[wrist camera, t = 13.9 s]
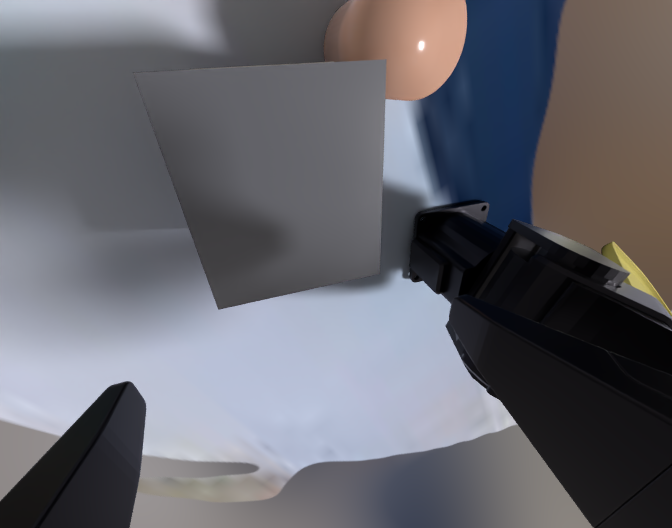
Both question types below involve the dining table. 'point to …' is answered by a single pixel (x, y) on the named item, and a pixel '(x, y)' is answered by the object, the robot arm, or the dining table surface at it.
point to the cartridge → (401, 41)
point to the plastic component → (631, 271)
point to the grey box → (275, 171)
